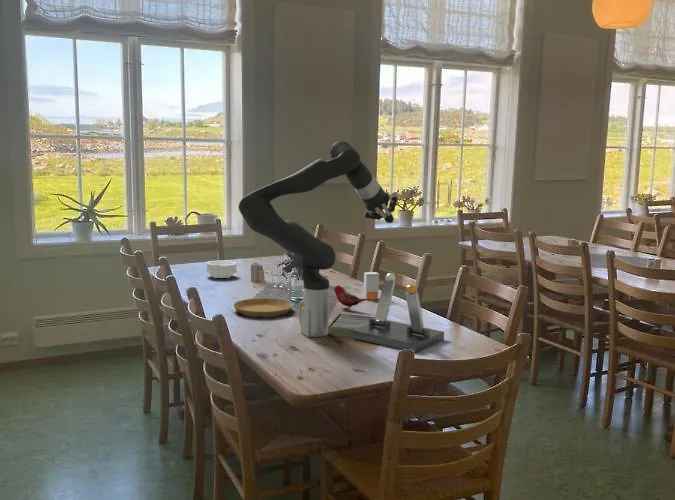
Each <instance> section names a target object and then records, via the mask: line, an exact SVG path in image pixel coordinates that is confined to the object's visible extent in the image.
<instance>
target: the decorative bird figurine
mask: <svg viewBox="0 0 675 500" xmlns="http://www.w3.org/2000/svg"><path fill="white" fill-rule="evenodd" d="M332 290H333V291H334V293H335V296H336V299H337V300H338V303H340V304H341V305H343V306H344V307H342V309H343V310H347V311H350V310H351V308H352V307H353V306H357V305H358V304H360V303H361V302H364V301H370V300H369V299H364V298H359V297H358V296H356V295H355V294H353V293H350V292H348V291H346V290H345V289H344V287H342V286H341V285H339V284H338V285H337V284H336V286H335V287H334V288H333V289H332Z"/></svg>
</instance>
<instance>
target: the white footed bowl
mask: <svg viewBox="0 0 675 500" xmlns="http://www.w3.org/2000/svg"><path fill="white" fill-rule="evenodd" d="M206 273H209V275H210V277H211V278H212V277H214V278H213V279H215V278H228V277H231V276H232V277H233V275H234V274H235V273H237V262H235V261H233V260H232V261H231V260H209V261H207V262H206ZM232 277H231V278H232ZM228 279H229V278H228Z"/></svg>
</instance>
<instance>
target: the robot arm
mask: <svg viewBox="0 0 675 500" xmlns="http://www.w3.org/2000/svg"><path fill="white" fill-rule="evenodd" d="M329 153H330V158H331V159H329V160H325V159H324V158H319V159H316V160H314V161H313V162H311V163H310V164H308V165H306V166H305V167H303V168H301V169H300V170H298V171H296V172H295V173H293V174H291V175H288V176H287V177H285V178H282V179H279V180H277V181H274V182H273V183H270V184H268V185H265V186H263V187H260V188H258V189H255V190H254V191H252V192H249V193H248V194H247V195H245V196H244V197H242V198H241V200H240V202H239V204H238V211H239V213H240V215H242V218H243V219H244V221H245V222H246V224H247V226H248V227H249V228H250V229H251V230H252V231H253V232H255V233H258V234H260V235H262V236H264V237H267V238H268V239H270V240H272V241H273V242H274V243H276V244H277V245H279V247H281V248H282V249H285V250H286V251H288V252H289V253H291V254H295V255H299V256H301V271H302V273H301V275H302V276H301V277H302V282H303V302H302V303H303V306H302V307H300V333H301V334H302V335H304V336H306V337H308V338H310V337H311V338H319V337H320V338H321V337H325V336H328V335H329V322H330V321H329V313H330V311H329V309H330V280H329V279H328V278H327V277H326V276H323V275H322V274H321V273H320V272H319V271H318V270H322V271H323V270H329V269H331V268H332V267H333V266H335V265H334V264H335V263H336V253H335V250H334V248H333V246H332V245H331V244H328V243H327V242H324V241H323V240H320V239H318V238H317V237H316V236H314V235H313V234H312V233H311V232H309V231H308V230H306V229H305V228H304V227H303V226H302V225H300V224H299V223H298V222H296V221H294V220H289V219H287V220H284V219H283V218H282V217H281V216H280V215H279V214H278V213H277V211H276V210H275V208H274V207H273V205H272V203H271V201H273V200H274V199H277V198H279V197H282V196H286V195H291V194H293V195H294V194H302V193H307V192H310V191H312V190H315V189H317V188H318V187H320V186H321V185H323V184H324V183H326V182H328V181H329V180H333V179H335V178H338V177H340V176H344V175H345V177H346V179H347V180H348V182H349V183H350V184H351V186H352V187H353V188H354V191H355V192H356V194H357V195H358V197H359V198H360V200H361V201H362V202H363V203H364V205H365V208H366V209H364V210H363V215H364V217H365V218H366V219H371V220H376V221H377V220H378V221H380V220H381V219H384V221H385V222H386V223H387V224H392V223H393V222H394V220H395V218H394V216H393V214H392V213H393V212H395V210H396V206H397V202H398V197H397V195H396V193H394V192H393V193H392V194H389V193H388V192H385V190H384V189H383V188H382V186H381V184H380V183H379V181H378V179H377V178H375V176H374V175H373V174H372V173H371V171H370V170H369V169H368V166H366V165H365V164H364V163H363V162H362V161H361V155H360V153H359V152H358V151H357V150H356V149H355V148H354V147H353V146H352V145H351V144H350V143H349V142H347V141H344V140H339V141H336V142H335V143H333V145H332V146H331V148H330V152H329Z"/></svg>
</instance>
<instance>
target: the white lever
mask: <svg viewBox="0 0 675 500" xmlns="http://www.w3.org/2000/svg"><path fill="white" fill-rule="evenodd" d="M395 286H396V275H395V274H394V273H392V272H389V273H387V274H386V275H385V279H383V282H382V286H381V292H380V295H379V298H378V304H377V308H376V312H375V317H373V318H374V319H373V321H372V324H373V325H376V326H381V327H384V325H385V322H386V320H388V317H389V316H388V315H389V311H390V307H391V304H392V298H393V294H394V291H395Z"/></svg>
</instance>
